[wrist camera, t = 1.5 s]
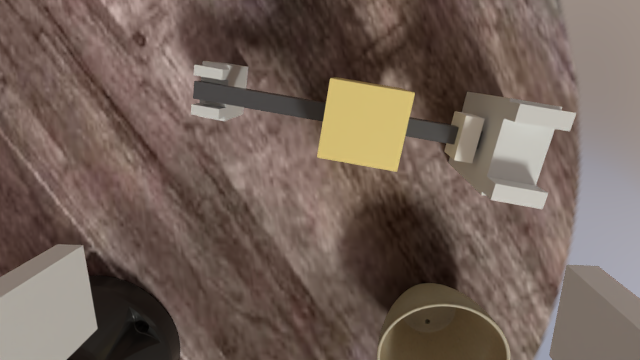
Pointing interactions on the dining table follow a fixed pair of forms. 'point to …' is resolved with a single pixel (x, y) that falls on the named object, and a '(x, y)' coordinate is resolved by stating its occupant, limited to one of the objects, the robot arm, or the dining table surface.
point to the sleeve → (365, 123)
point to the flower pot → (439, 328)
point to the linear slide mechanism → (424, 130)
